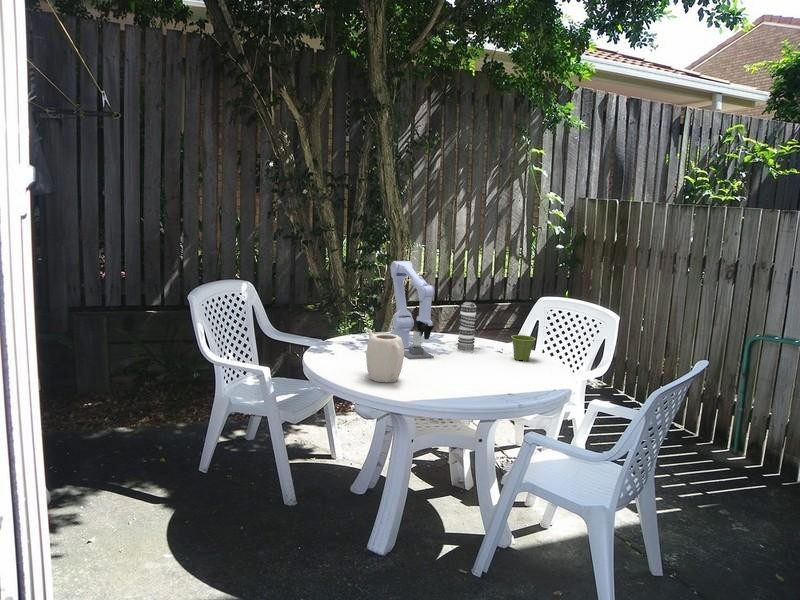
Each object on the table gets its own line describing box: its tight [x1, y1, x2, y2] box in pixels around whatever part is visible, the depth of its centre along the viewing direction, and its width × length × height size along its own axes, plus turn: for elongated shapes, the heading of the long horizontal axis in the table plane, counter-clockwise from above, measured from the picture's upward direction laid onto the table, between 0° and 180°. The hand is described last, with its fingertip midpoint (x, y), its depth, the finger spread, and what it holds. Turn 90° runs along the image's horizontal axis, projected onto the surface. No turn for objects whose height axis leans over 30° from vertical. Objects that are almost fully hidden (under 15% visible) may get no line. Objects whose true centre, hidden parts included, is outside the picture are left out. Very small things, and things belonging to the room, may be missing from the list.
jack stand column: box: [412, 330, 422, 347], centre depth 342 cm, size 3×3×7 cm
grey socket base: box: [404, 345, 435, 360], centre depth 343 cm, size 13×13×5 cm
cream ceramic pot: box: [365, 329, 405, 384], centre depth 296 cm, size 16×27×19 cm, turn 33°
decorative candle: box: [456, 301, 478, 354], centre depth 357 cm, size 9×9×25 cm
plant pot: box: [511, 334, 536, 362], centre depth 346 cm, size 12×12×11 cm
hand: (423, 337), depth 343 cm, fingers open, 7 cm apart
